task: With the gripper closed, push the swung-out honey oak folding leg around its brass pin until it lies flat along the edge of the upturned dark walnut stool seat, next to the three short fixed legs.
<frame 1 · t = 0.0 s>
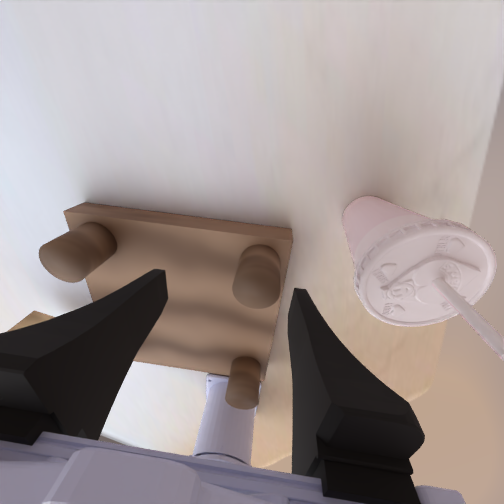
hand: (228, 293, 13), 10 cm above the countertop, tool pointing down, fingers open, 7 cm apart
oak leg: (77, 347, 27), point 4 cm above the countertop, hinge at 75.0°
smoothie: (363, 215, 20), on the countertop
stool seat: (190, 296, 27), on the countertop
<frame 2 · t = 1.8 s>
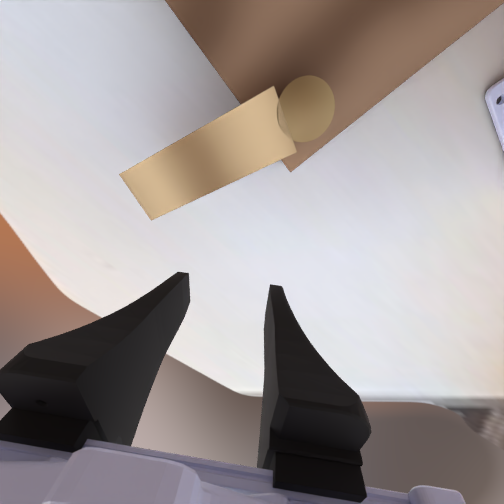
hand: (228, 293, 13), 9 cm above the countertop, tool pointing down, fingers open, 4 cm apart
oak leg: (226, 151, 14), point 4 cm above the countertop, hinge at 75.0°
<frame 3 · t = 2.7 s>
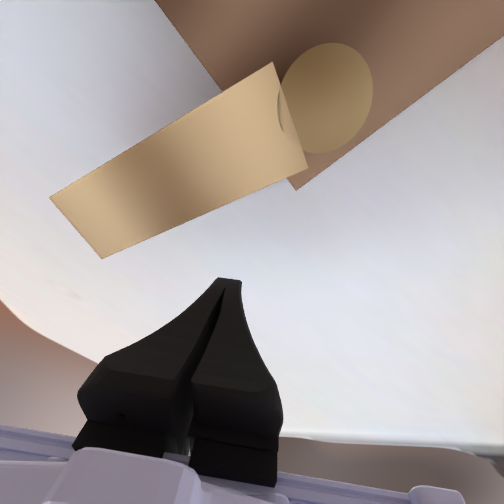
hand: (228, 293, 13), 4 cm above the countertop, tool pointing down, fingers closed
oak leg: (205, 163, 10), point 4 cm above the countertop, hinge at 75.0°
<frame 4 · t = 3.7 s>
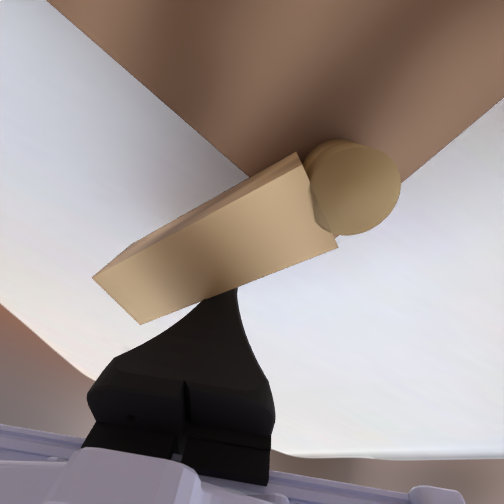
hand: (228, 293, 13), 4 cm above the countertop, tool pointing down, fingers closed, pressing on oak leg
oak leg: (233, 234, 10), point 4 cm above the countertop, hinge at 68.8°, touching gripper
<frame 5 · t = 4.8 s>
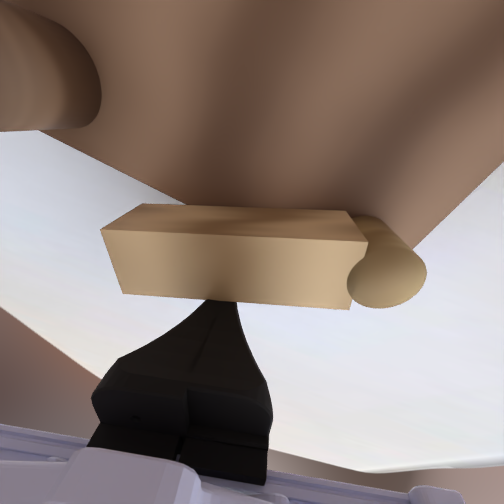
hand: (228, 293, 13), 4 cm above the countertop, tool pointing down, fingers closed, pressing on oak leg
oak leg: (261, 253, 11), point 4 cm above the countertop, hinge at 26.6°, touching gripper
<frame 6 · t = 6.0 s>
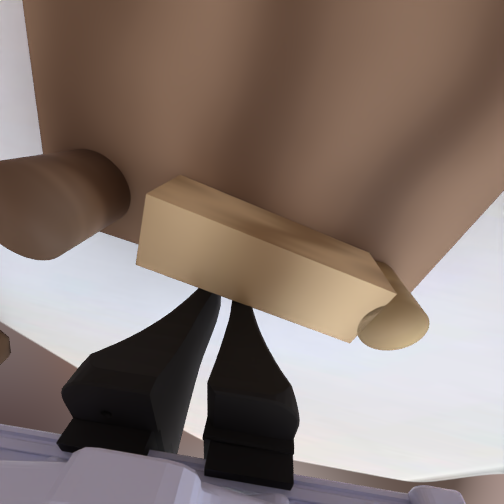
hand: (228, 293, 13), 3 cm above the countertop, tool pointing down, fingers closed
oak leg: (288, 267, 11), point 4 cm above the countertop, hinge at -2.9°, touching gripper
stool seat: (292, 74, 11), on the countertop
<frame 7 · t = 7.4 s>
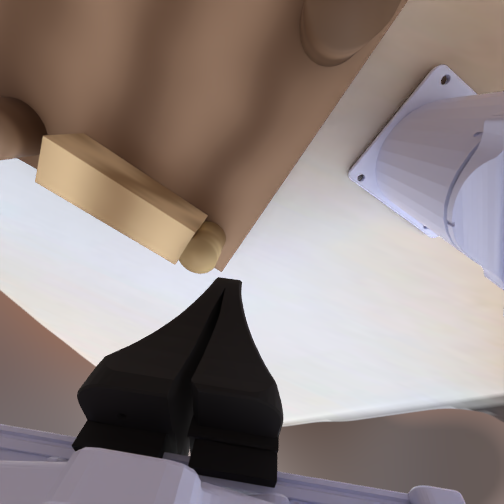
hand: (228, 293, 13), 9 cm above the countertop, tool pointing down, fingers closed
oak leg: (145, 210, 17), point 4 cm above the countertop, hinge at -3.0°
stool seat: (171, 88, 16), on the countertop
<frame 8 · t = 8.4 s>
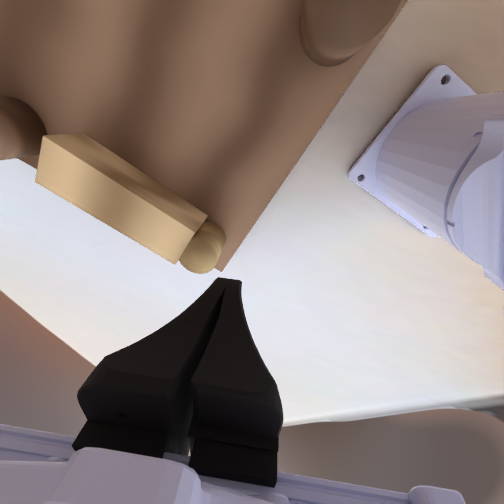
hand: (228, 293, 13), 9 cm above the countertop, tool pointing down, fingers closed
oak leg: (145, 210, 17), point 4 cm above the countertop, hinge at -3.0°
stool seat: (171, 88, 16), on the countertop
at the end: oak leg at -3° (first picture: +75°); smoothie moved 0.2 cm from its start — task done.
